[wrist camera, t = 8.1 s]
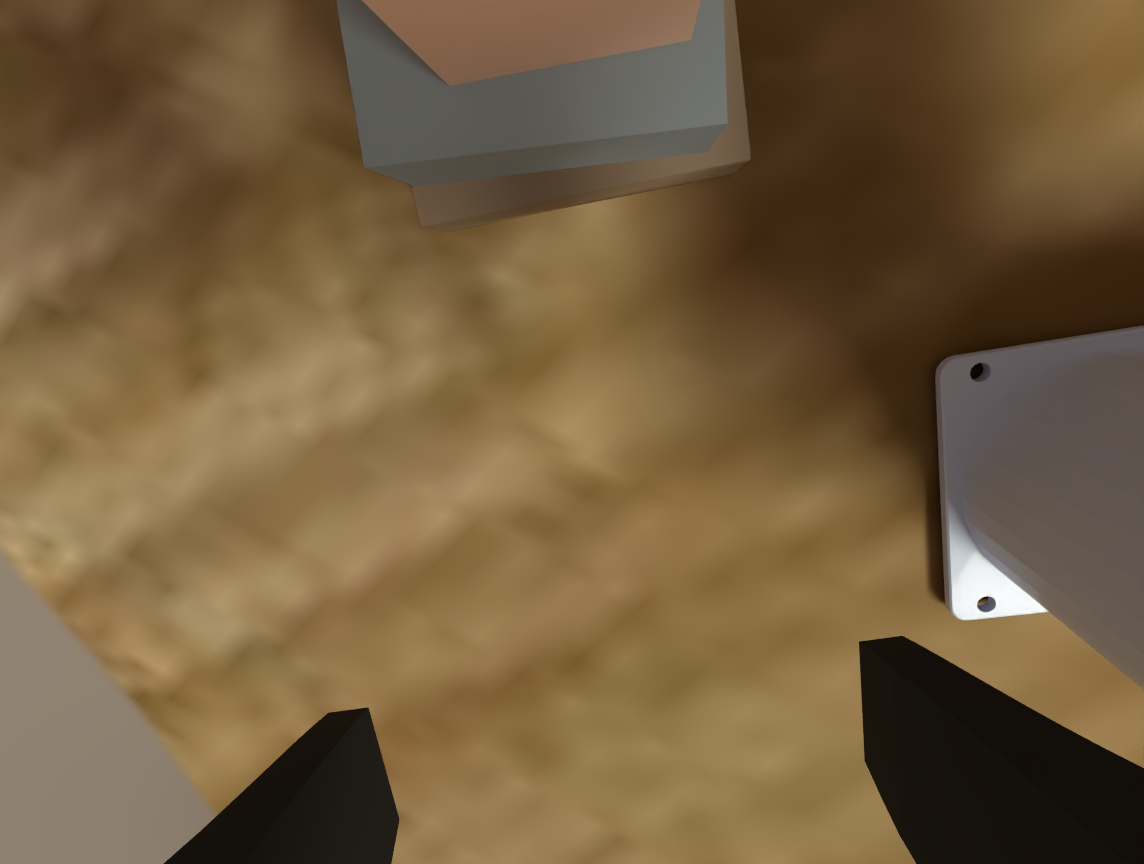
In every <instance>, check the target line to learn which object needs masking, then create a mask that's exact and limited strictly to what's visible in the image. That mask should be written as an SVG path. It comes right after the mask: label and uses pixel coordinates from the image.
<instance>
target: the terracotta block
mask: <svg viewBox="0 0 1144 864" xmlns="http://www.w3.org/2000/svg"><path fill="white" fill-rule="evenodd" d="M362 1H363V2H364V3H365V4H366V5H367V6H368V7H369V8H370V9H371V10H372V11H373V12H374V13H375V14H376V15H377V16H378V17H379V18H380V19H381V20H382V21H383V22H384V23H385V24H386V25H387V26H388V27H389V28H390V29H391V30H392V31H393V32H394V33H395V34H396V35H397V36H399V37H400V38H401V39H402V40H403V41H404V42H405V43H406V44H407V45H408V46H409V47H410V48H411V49H412V50H413V51H414V52H415V53H416V54H417V55H418V56H419V57H420V58H421V59H422V60H423V61H424V62H425V63H426V64H427V65H428V66H429V67H430V68H431V69H432V70H433V71H434V72H435V73H436V74H437V75H438V76H439V77H440V78H441V79H442V80H443V81H444V82H446V83H447V84H448V85H449V86H453V85H458V84H463V83H468V82H474V81H479V80H484V79H490V78H495V77H500V76H505V75H511V74H516V73H521V72H526V71H532V70H537V69H542V68H548V67H553V66H558V65H563V64H569V63H574V62H579V61H585V60H590V59H595V58H600V57H606V56H611V55H616V54H622V53H627V52H632V51H637V50H643V49H648V48H653V47H658V46H664V45H669V44H674V43H680V42H685V41H690V40H691V38H692V34H693V30H694V26H695V22H696V18H697V14H698V10H699V6H700V2H701V0H362Z"/></svg>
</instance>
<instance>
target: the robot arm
mask: <svg viewBox="0 0 1144 864" xmlns="http://www.w3.org/2000/svg"><path fill="white" fill-rule="evenodd" d="M978 363H981V364H982V366H983V371H982V374H981V375H980V376H979V377H978V378H976V379H973V380H972V379H971V376H970V371H971V368H972V367H973V366H974V365H975V364H978ZM935 385H936V408H937V431H938V454H939V477H940V500H941V523H942V545H943V568H944V591H945V604H946V607H947V609H948V610H949V611H950V612H951V613H952V614H953V615H954V616H955V617H956V618H958V619H960V620H976V619H985V618H995V617H1004V616H1014V615H1023V614H1033V613H1042V612H1050V613H1051V614H1052V615H1054V616H1055V617H1056V618H1057V619H1058V620H1060V621H1061V622H1062V623H1063V624H1064V625H1066V626H1067V627H1068V628H1069V629H1071V630H1072V631H1073V632H1074V633H1075V634H1077V635H1078V636H1079V637H1080V638H1081V639H1083V640H1084V641H1085V642H1086V643H1088V644H1089V645H1090V646H1091V647H1092V648H1094V649H1095V650H1096V651H1097V652H1098V653H1100V654H1101V655H1102V656H1103V657H1104V658H1106V659H1107V660H1108V661H1109V662H1111V663H1112V664H1113V665H1114V666H1115V667H1117V668H1118V669H1119V670H1120V671H1121V672H1123V673H1124V674H1125V675H1126V676H1128V677H1129V678H1130V679H1131V680H1132V681H1134V682H1135V683H1136V684H1137V685H1138V686H1140V687H1141V688H1142V689H1143V690H1144V325H1142V326H1136V327H1130V328H1123V329H1117V330H1111V331H1105V332H1098V333H1092V334H1086V335H1079V336H1073V337H1067V338H1060V339H1054V340H1048V341H1041V342H1035V343H1029V344H1022V345H1016V346H1010V347H1004V348H997V349H991V350H985V351H978V352H972V353H966V354H959V355H953V356H950V357H948V358H946V359H944V360H943V361H942V362H941V363H940V364H939V366H938V367H937V369H936V374H935ZM985 596H989V598H988V601H987V602H986V603H985V604H982V605H977V603H978V601H979V600H980V599H981V598H982V597H985ZM859 650H860V671H861V692H862V713H863V734H864V755H865V762H866V765H867V767H868V769H869V771H870V773H871V775H872V778H873V780H874V782H875V784H876V786H877V789H878V791H879V793H880V795H881V797H882V800H883V802H884V804H885V806H886V808H887V810H888V812H889V814H890V816H891V818H892V820H893V822H894V825H895V827H896V829H897V831H898V833H899V835H900V837H901V838H902V840H903V842H904V843H905V845H906V847H907V849H908V850H909V852H910V854H911V855H912V857H913V859H914V860H915V862H916V864H1144V768H1142V767H1140V766H1138V765H1136V764H1134V763H1132V762H1130V761H1128V760H1126V759H1124V758H1122V757H1120V756H1118V755H1116V754H1114V753H1113V752H1111V751H1109V750H1107V749H1105V748H1103V747H1101V746H1099V745H1097V744H1095V743H1093V742H1091V741H1090V740H1088V739H1086V738H1084V737H1082V736H1080V735H1078V734H1076V733H1075V732H1073V731H1071V730H1069V729H1067V728H1065V727H1063V726H1062V725H1060V724H1058V723H1056V722H1054V721H1052V720H1051V719H1049V718H1047V717H1045V716H1043V715H1042V714H1040V713H1038V712H1036V711H1034V710H1033V709H1031V708H1029V707H1027V706H1025V705H1024V704H1022V703H1020V702H1018V701H1017V700H1015V699H1013V698H1011V697H1010V696H1008V695H1006V694H1004V693H1003V692H1001V691H999V690H997V689H996V688H994V687H992V686H990V685H989V684H987V683H985V682H983V681H982V680H980V679H978V678H976V677H975V676H973V675H971V674H969V673H968V672H966V671H964V670H963V669H961V668H959V667H957V666H956V665H954V664H952V663H950V662H949V661H947V660H945V659H944V658H942V657H940V656H938V655H937V654H935V653H933V652H931V651H929V650H928V649H926V648H924V647H922V646H920V645H919V644H917V643H915V642H913V641H911V640H909V639H907V638H905V637H903V636H898V637H891V638H883V639H876V640H868V641H861V642H859ZM398 824H399V816H398V813H397V809H396V805H395V802H394V798H393V795H392V791H391V787H390V784H389V780H388V777H387V773H386V769H385V766H384V762H383V759H382V755H381V751H380V748H379V744H378V741H377V737H376V733H375V730H374V726H373V723H372V719H371V715H370V712H369V708H361V709H354V710H346V711H339V712H331V713H328V714H327V715H325V716H324V717H323V718H322V719H321V720H319V721H318V722H317V723H316V724H315V725H314V726H312V727H311V728H310V729H309V730H308V731H307V732H306V733H305V734H304V735H303V736H301V737H300V738H299V739H298V740H297V741H296V742H295V743H294V744H293V745H292V746H291V747H290V748H289V749H287V750H286V751H285V752H284V753H283V754H282V755H281V756H280V757H279V758H278V759H277V760H276V761H275V762H274V763H273V764H272V765H271V766H270V767H268V768H267V769H266V770H265V771H264V772H263V773H262V774H261V775H260V776H259V777H258V778H257V779H256V780H255V781H254V782H253V783H252V784H250V785H249V786H248V787H247V788H246V789H245V790H244V791H243V792H242V793H241V794H240V795H239V796H238V797H237V798H235V799H234V800H233V801H232V802H231V803H230V804H229V805H228V806H227V807H226V808H225V809H224V810H223V811H222V812H221V813H219V814H218V815H217V816H216V817H215V818H214V819H213V820H212V821H211V822H210V823H209V824H208V825H207V826H206V827H204V828H203V829H202V830H201V831H200V832H199V833H198V834H197V835H196V836H195V837H193V838H192V839H191V840H190V841H189V842H188V843H187V844H185V845H184V846H183V847H182V848H181V849H180V850H179V851H178V852H176V853H175V854H174V855H173V856H172V857H171V858H170V859H168V860H167V861H166V862H165V863H164V864H391V862H392V857H393V851H394V846H395V840H396V835H397V830H398Z"/></svg>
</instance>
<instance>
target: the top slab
mask: <svg viewBox="0 0 1144 864" xmlns="http://www.w3.org/2000/svg"><path fill="white" fill-rule="evenodd" d="M336 3H337V9H338V15H339V21H340V27H341V33H342V39H343V45H344V51H345V57H346V63H347V69H348V75H349V81H350V87H351V92H352V98H353V104H354V110H355V116H356V122H357V128H358V134H359V140H360V146H361V152H362V158H363V164H364V168H365V169H368V170H371V171H374V172H376V173H379V174H382V175H385V176H387V177H390V178H393V179H396V180H398V181H401V182H404V183H406V184H409V185H412V186H422V185H431V184H439V183H448V182H456V181H465V180H473V179H482V178H490V177H499V176H507V175H516V174H524V173H533V172H541V171H550V170H558V169H567V168H575V167H584V166H592V165H601V164H609V163H618V162H626V161H634V160H643V159H651V158H660V157H668V156H677V155H685V154H694V153H702V152H708V151H709V149H710V148H711V147H712V145H713V144H714V142H715V141H716V139H717V138H718V137H719V135H720V134H721V132H722V131H723V129H724V128H725V127H726V125H727V124H728V122H727V91H726V59H725V28H724V0H701V2H700V6H699V10H698V14H697V18H696V22H695V26H694V30H693V34H692V38H691V40H690V41H685V42H680V43H674V44H669V45H664V46H658V47H653V48H648V49H643V50H637V51H632V52H627V53H622V54H616V55H611V56H606V57H600V58H595V59H590V60H585V61H579V62H574V63H569V64H563V65H558V66H553V67H548V68H542V69H537V70H532V71H526V72H521V73H516V74H511V75H505V76H500V77H495V78H490V79H484V80H479V81H474V82H468V83H463V84H458V85H453V86H449V85H448V84H447V83H446V82H444V81H443V80H442V79H441V78H440V77H439V76H438V75H437V74H436V73H435V72H434V71H433V70H432V69H431V68H430V67H429V66H428V65H427V64H426V63H425V62H424V61H423V60H422V59H421V58H420V57H419V56H418V55H417V54H416V53H415V52H414V51H413V50H412V49H411V48H410V47H409V46H408V45H407V44H406V43H405V42H404V41H403V40H402V39H401V38H400V37H399V36H397V35H396V34H395V33H394V32H393V31H392V30H391V29H390V28H389V27H388V26H387V25H386V24H385V23H384V22H383V21H382V20H381V19H380V18H379V17H378V16H377V15H376V14H375V13H374V12H373V11H372V10H371V9H370V8H369V7H368V6H367V5H366V4H365V3H364V2H363V1H362V0H336Z"/></svg>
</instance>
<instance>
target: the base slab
mask: <svg viewBox="0 0 1144 864" xmlns="http://www.w3.org/2000/svg"><path fill="white" fill-rule="evenodd" d="M724 28H725V59H726V91H727V122H728V124H727V125H726V127H725V128H724V129H723V131H722V132H721V134H720V135H719V137H718V138H717V139H716V141H715V142H714V144H713V145H712V147H711V148H710V149H709V151H708V152H702V153H694V154H685V155H677V156H668V157H660V158H651V159H643V160H634V161H626V162H618V163H609V164H601V165H592V166H584V167H575V168H567V169H558V170H550V171H541V172H533V173H524V174H516V175H507V176H499V177H490V178H482V179H473V180H465V181H456V182H448V183H439V184H431V185H422V186H412V185H411V187H412V191H413V196H414V200H415V204H416V209H417V213H418V218H419V222H420V226H421V227H426V228H432V229H438V230H443V231H452V230H457V229H462V228H467V227H472V226H477V225H482V224H487V223H492V222H497V221H502V220H507V219H512V218H517V217H522V216H527V215H532V214H537V213H542V212H547V211H552V210H557V209H562V208H567V207H572V206H577V205H582V204H587V203H592V202H597V201H602V200H607V199H612V198H617V197H622V196H626V195H631V194H636V193H641V192H646V191H651V190H656V189H661V188H666V187H671V186H676V185H681V184H686V183H691V182H696V181H701V180H706V179H711V178H716V177H721V176H726V175H731V174H735V173H736V172H737V171H738V170H739V169H740V168H742V167H743V166H744V165H745V164H746V163H747V162H749V161H750V160H751V153H750V143H749V133H748V124H747V114H746V104H745V95H744V85H743V75H742V65H741V56H740V46H739V36H738V27H737V17H736V7H735V0H724Z"/></svg>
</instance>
